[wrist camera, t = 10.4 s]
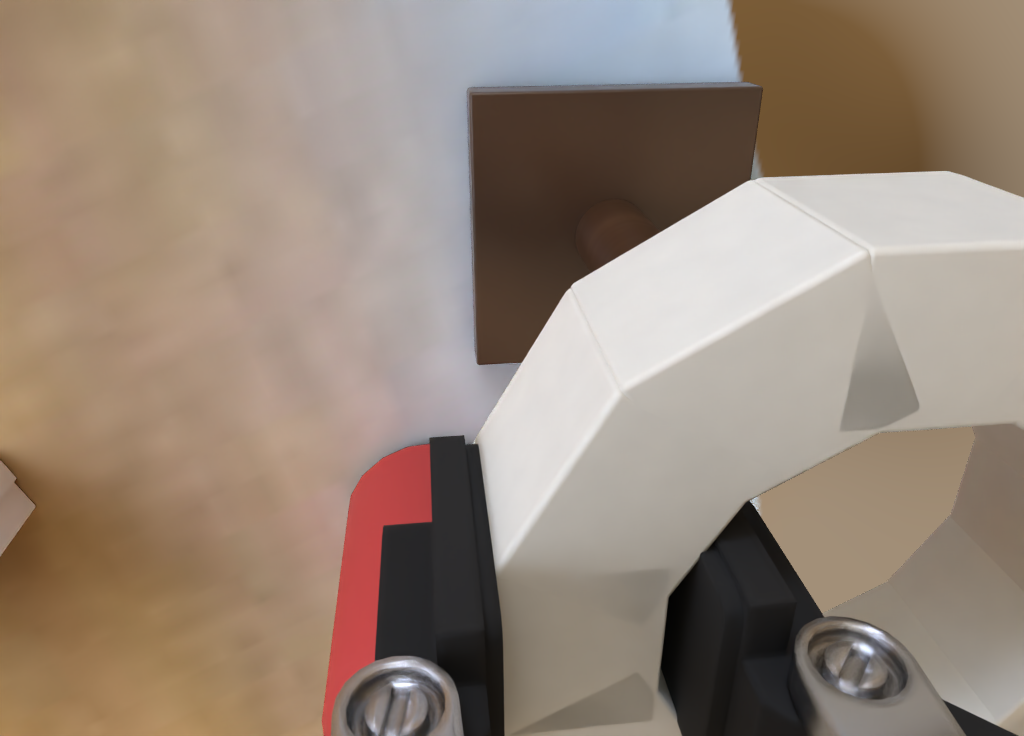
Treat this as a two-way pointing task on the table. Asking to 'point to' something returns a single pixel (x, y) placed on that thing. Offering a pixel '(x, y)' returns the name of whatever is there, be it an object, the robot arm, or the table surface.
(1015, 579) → the tape roll
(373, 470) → the beer can
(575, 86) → the spindle
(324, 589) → the table surface
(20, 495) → the walkman
